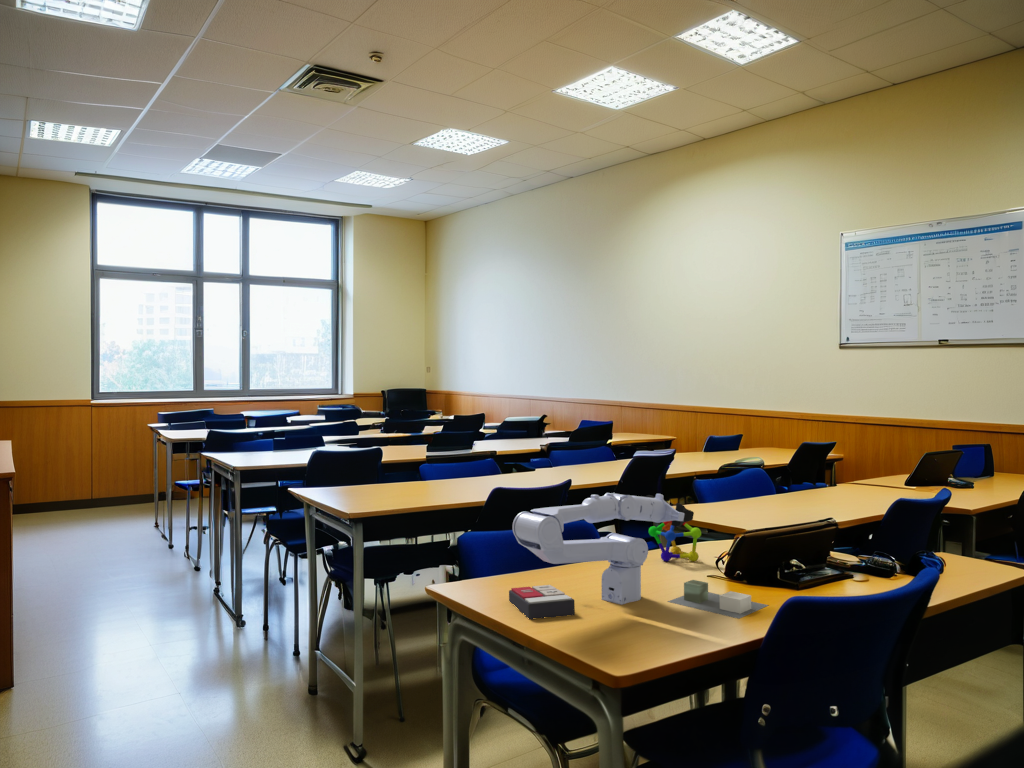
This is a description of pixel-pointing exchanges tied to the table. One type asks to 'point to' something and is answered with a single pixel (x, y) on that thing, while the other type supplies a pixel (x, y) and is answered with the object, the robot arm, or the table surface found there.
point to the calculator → (542, 601)
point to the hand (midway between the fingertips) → (680, 512)
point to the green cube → (696, 591)
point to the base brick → (735, 602)
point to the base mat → (716, 606)
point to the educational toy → (670, 539)
